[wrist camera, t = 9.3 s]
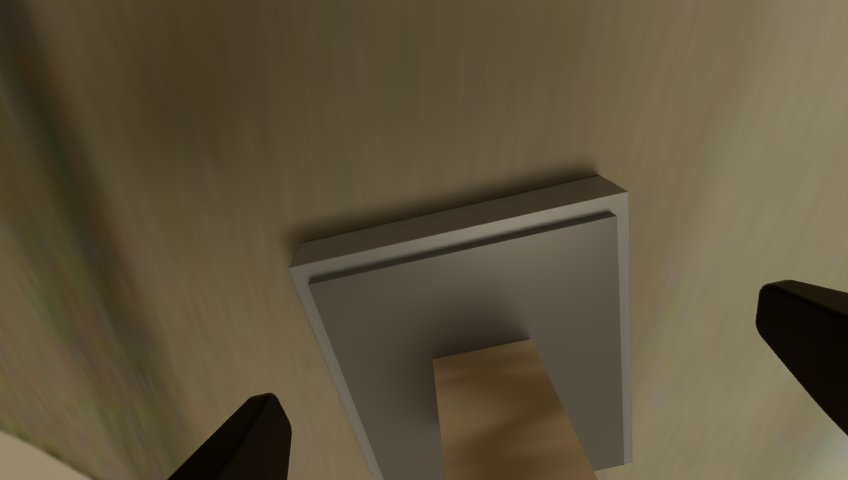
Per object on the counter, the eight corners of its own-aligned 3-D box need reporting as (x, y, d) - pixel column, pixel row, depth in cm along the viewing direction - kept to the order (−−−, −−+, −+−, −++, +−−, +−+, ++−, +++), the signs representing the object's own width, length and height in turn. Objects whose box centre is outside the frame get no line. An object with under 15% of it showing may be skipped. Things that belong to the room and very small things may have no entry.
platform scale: (600, 175, 19) (634, 195, 16) (611, 425, 25) (637, 470, 22) (301, 243, 19) (285, 274, 16) (387, 471, 26) (386, 520, 23)
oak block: (530, 338, 18) (619, 524, 11) (540, 411, 20) (621, 612, 13) (432, 359, 18) (454, 556, 11) (450, 429, 20) (480, 638, 13)
